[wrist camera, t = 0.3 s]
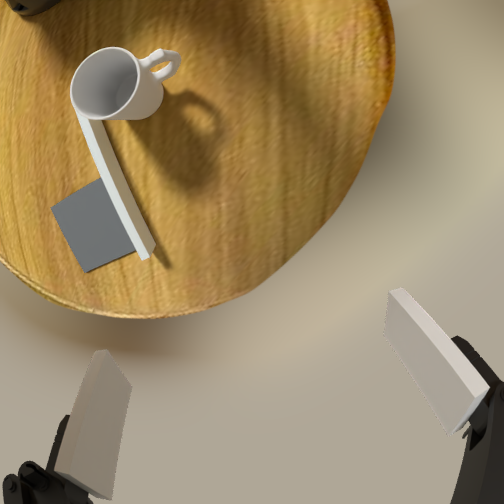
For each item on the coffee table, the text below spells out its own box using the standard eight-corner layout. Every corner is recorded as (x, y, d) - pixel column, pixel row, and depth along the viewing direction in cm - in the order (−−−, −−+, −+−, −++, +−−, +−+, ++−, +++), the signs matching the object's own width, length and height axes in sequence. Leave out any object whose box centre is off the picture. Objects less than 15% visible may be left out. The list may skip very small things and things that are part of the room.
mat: (51, 207, 33) (50, 207, 32) (110, 172, 32) (108, 172, 32) (85, 271, 37) (84, 272, 37) (144, 245, 37) (143, 246, 37)
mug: (127, 131, 31) (86, 135, 20) (106, 89, 28) (60, 77, 17) (199, 92, 30) (189, 73, 19) (177, 49, 27) (158, 14, 16)
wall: (85, 101, 28) (71, 99, 24) (93, 97, 28) (79, 94, 24) (148, 247, 37) (141, 260, 33) (156, 244, 37) (149, 257, 33)
